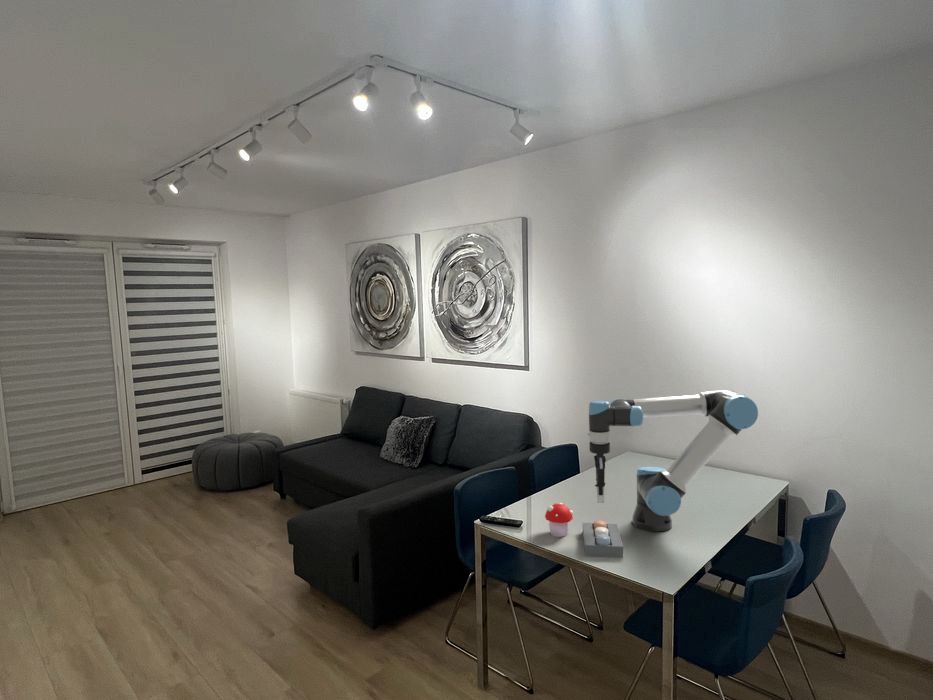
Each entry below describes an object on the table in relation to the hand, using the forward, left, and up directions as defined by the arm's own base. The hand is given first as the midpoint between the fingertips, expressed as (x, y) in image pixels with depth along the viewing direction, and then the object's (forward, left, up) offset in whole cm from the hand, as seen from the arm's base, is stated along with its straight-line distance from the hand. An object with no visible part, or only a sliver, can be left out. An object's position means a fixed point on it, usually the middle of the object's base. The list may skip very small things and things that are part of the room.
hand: (600, 502), depth 205 cm
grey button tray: (0, +7, -14) cm, 15 cm away
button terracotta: (0, 0, -13) cm, 13 cm away
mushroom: (+16, -1, -14) cm, 21 cm away
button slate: (0, +13, -13) cm, 18 cm away
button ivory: (0, +7, -13) cm, 14 cm away
